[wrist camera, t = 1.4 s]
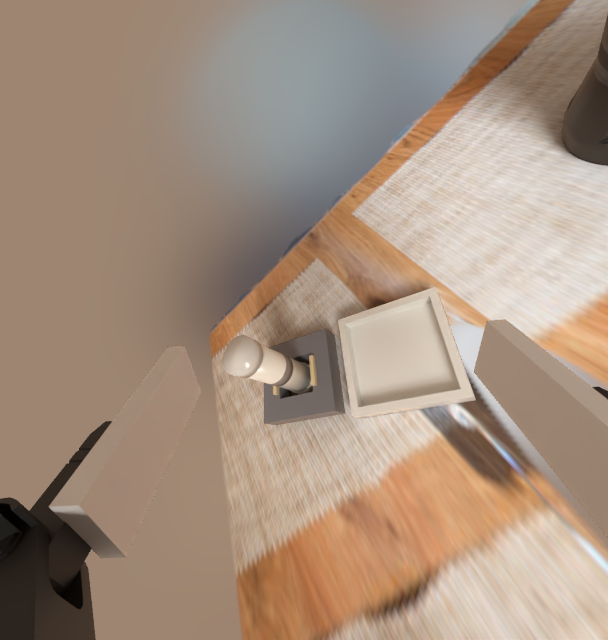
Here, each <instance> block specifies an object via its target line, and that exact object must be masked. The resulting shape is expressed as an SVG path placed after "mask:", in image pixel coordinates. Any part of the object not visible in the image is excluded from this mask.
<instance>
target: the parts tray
mask: <svg viewBox="0 0 608 640" xmlns="http://www.w3.org/2000/svg"><path fill="white" fill-rule="evenodd" d="M338 324H339V331H340V338H341V345H342V352H343V359H344V366H345V372H346V379H347V386H348V393H349V400H350V407H351V414H352V417H355V418H359V419H360V418H366V417H373V416H379V415H385V414H392V413H398V412H404V411H411V410H417V409H423V408H430V407H436V406H442V405H448V404H455V403H461V402H467V401H474V400H476V399H475V396H474V393H473V390H472V387H471V385H470V382H469V379H468V376H467V373H466V370H465V368H464V365H463V362H462V359H461V356H460V354H459V351H458V348H457V345H456V343H455V339H454V337H453V334H452V331H451V328H450V325H449V323H448V320H447V317H446V314H445V311H444V308H443V306H442V303H441V300H440V297H439V294H438V292H437V289H436V287H433V288H430V289H427V290H424V291H421V292H418V293H415V294H412V295H410V296H407V297H404V298H401V299H398V300H395V301H392V302H389V303H386V304H383V305H380V306H377V307H374V308H372V309H369V310H366V311H363V312H360V313H357V314H354V315H351V316H348V317H345V318H342V319H339V320H338Z"/></svg>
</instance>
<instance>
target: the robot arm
mask: <svg viewBox="0 0 608 640" xmlns="http://www.w3.org/2000/svg"><path fill="white" fill-rule="evenodd" d="M562 139H563V142H564V144H565V146H566V148H567V149H568V150H569V151H570V152H571V153H573V154H574V155H576V156H577V157H579V158H581V159H584V160H587V161H590V162H594V163H599V164H605V165H608V16H607V20H606V24H605V27H604V31H603V35H602V40H601V44H600V48H599V52H598V56H597V58H596V60H595V61H594V63H593V65H592V67H591V68H590V70H589V72H588V73H587V75H586V77H585V79H584V80H583V82H582V84H581V86H580V88H579V90H578V91H577V93H576V94H575V96H574V97H573V98H572V100H571V102H570V103H569V105H568V108H567V110H566V113H565V117H564V122H563V128H562ZM474 373H475V374H476V375H477V376H478V378H479V379H480V380H481V381H482V383H483V384H484V385H485V386H486V388H487V389H488V390H489V391H490V393H491V394H492V395H493V396H494V397H495V399H496V400H497V401H498V402H499V404H500V405H501V406H502V407H503V409H504V410H505V411H506V412H507V414H508V415H509V416H510V417H511V419H512V420H513V421H514V422H515V424H516V425H517V426H518V427H519V428H520V430H521V431H522V432H523V433H524V435H525V436H526V437H527V438H528V440H529V441H530V442H531V443H532V445H533V446H534V447H535V448H536V449H537V451H538V452H539V453H540V454H541V456H542V457H543V458H544V459H545V461H546V462H547V463H548V464H549V466H550V467H551V468H552V469H553V471H554V472H555V473H556V474H557V476H558V477H559V478H560V479H561V480H562V482H563V483H564V484H565V485H566V487H567V488H568V489H569V490H570V492H571V493H572V494H573V495H574V497H575V498H576V499H577V500H578V502H579V503H580V504H581V505H582V507H583V508H584V509H585V510H586V511H587V513H588V514H589V515H590V516H591V517H592V519H593V520H594V521H595V523H596V524H597V525H598V526H599V528H600V529H601V530H602V531H603V533H604V534H605V535H606V536H607V537H608V391H606V390H604V389H602V388H600V387H591V386H590V385H589V384H587V383H586V382H585V381H583V380H582V379H581V378H580V377H578V376H577V375H576V374H574V373H573V372H572V371H571V370H569V369H568V368H567V367H565V366H564V365H563V364H562V363H560V362H559V361H558V360H557V359H555V358H554V357H553V356H551V355H550V354H549V353H548V352H546V351H545V350H544V349H543V348H541V347H540V346H539V345H537V344H536V343H535V342H534V341H532V340H531V339H530V338H528V337H527V336H526V335H525V334H523V333H522V332H521V331H520V330H518V329H517V328H516V327H514V326H513V325H512V324H511V323H509V322H508V321H507V320H494V321H487V322H486V326H485V330H484V334H483V338H482V342H481V346H480V350H479V353H478V357H477V361H476V366H475V369H474ZM200 394H201V389H200V387H199V384H198V381H197V379H196V376H195V373H194V371H193V368H192V366H191V363H190V360H189V358H188V355H187V352H186V350H185V347H184V346H180V347H168V348H167V349H166V350H165V352H164V353H163V354H162V356H161V357H160V358H159V360H158V361H157V362H156V364H155V365H154V366H153V368H152V369H151V370H150V372H149V373H148V374H147V376H146V377H145V379H144V380H143V381H142V382H141V384H140V385H139V386H138V388H137V389H136V390H135V392H134V393H133V394H132V396H131V397H130V398H129V400H128V401H127V403H126V404H125V405H124V407H123V408H122V409H121V410H120V412H119V413H118V414H117V416H116V417H115V419H114V420H113V421H108V422H105V423H103V424H102V425H101V426H100V427H98V428H97V429H96V430H95V431H94V432H92V433H91V434H90V435H89V437H88V438H87V439H86V440H85V442H84V443H83V444H82V445H81V447H80V448H79V451H77V452H76V453H75V454H74V455H73V457H72V458H71V459H70V462H69V464H66V465H65V467H64V468H63V469H62V471H61V472H60V473H59V475H58V476H57V477H56V478H55V479H54V481H53V482H52V483H51V484H50V486H49V487H48V488H47V489H46V491H45V492H44V493H43V494H42V496H41V497H40V498H39V499H38V501H37V502H36V503H35V505H34V506H33V507H32V508H31V510H30V511H28V510H27V509H26V508H25V507H24V506H23V505H22V504H20V503H19V502H18V501H17V500H15V499H13V498H10V497H9V498H3V499H0V640H96V639H95V630H94V620H93V611H92V601H91V592H90V582H89V573H88V567H87V565H86V563H85V562H84V561H85V559H86V557H87V555H88V553H89V552H90V550H91V549H92V550H93V551H94V552H95V553H96V554H97V555H98V556H99V557H100V558H118V557H127V555H128V552H129V550H130V548H131V546H132V544H133V541H134V539H135V537H136V535H137V533H138V530H139V528H140V526H141V524H142V522H143V519H144V517H145V515H146V513H147V511H148V508H149V506H150V504H151V502H152V500H153V497H154V495H155V493H156V491H157V489H158V486H159V484H160V482H161V480H162V477H163V475H164V473H165V471H166V469H167V467H168V464H169V462H170V460H171V458H172V455H173V453H174V451H175V449H176V447H177V444H178V442H179V440H180V438H181V435H182V434H183V431H184V429H185V427H186V425H187V423H188V420H189V418H190V416H191V414H192V412H193V409H194V407H195V405H196V403H197V401H198V398H199V396H200Z"/></svg>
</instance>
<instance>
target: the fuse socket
mask: <svg viewBox="0 0 608 640" xmlns="http://www.w3.org/2000/svg"><path fill="white" fill-rule="evenodd" d="M269 348H270V349H272V350H274V351H277V352H280V353H282V354H284V355H286V356H288V357H290V358H292V359H294V360H296V361H299V362H303V363H304V362H308V361H310V373H311V385H312V386H313V392H309V393H304V394H300V395H295V396H291V390H288V389H284V388H281V387H277V386H273V385H269V384H267V383H264V424H272V425H279V424H285V423H291V422H297V421H302V420H308V419H314V418H320V417H326V416H332V415H337V414H343V413H345V410H344V402H343V395H342V387H341V380H340V372H339V365H338V358H337V350H336V343H335V335H334V334H332V333H331V332H329V331H328V330H327V329H323V330H320V331H317V332H314V333H311V334H308V335H305V336H302V337H299V338H296V339H293V340H290V341H287V342H284V343H281V344H278V345H275V346H272V347H269Z"/></svg>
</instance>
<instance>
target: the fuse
mask: <svg viewBox="0 0 608 640" xmlns="http://www.w3.org/2000/svg"><path fill="white" fill-rule="evenodd" d="M223 365H224V368H225V370H226V372H227V373H229V374H231V375H234V376H238V377H241V378H251V379H254V380H257V381H261V382H264V383H267V384H269V385H273V386H277V387H281V388H284V389H288V390H291V391H292V392H293V393H296V394H304V393H309V392H313V386H312V385H311V373H310V365H308V364H306V363H303V362H299V361H296V360H294V359H292V358H290V357H288V356H286V355H284V354H282V353H280V352H277V351H274V350H272V349H270V348H268V347H265V346H263V345H261V344H260V343H259V342H258V341H256V340H254V339H252V338H250V337H247V336H245V335H241V336H238V337H236V338H234V339H233V340H232V341H231V342H230V343H229V345H228V346H227V348H226V350H225V353H224V357H223Z"/></svg>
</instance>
